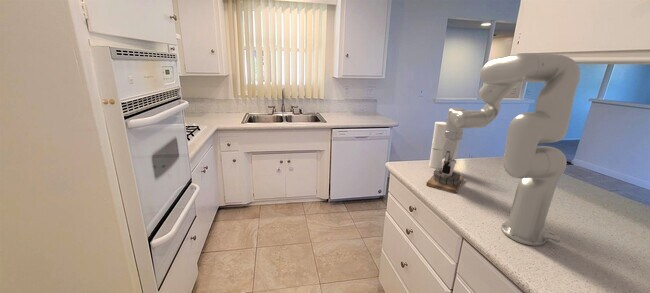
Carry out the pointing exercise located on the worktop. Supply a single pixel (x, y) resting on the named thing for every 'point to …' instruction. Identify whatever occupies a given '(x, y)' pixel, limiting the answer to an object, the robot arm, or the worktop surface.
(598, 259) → the worktop surface
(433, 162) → the cylindrical container
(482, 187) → the worktop surface
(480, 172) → the worktop surface
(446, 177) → the block
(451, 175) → the smoothie
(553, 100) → the robot arm
